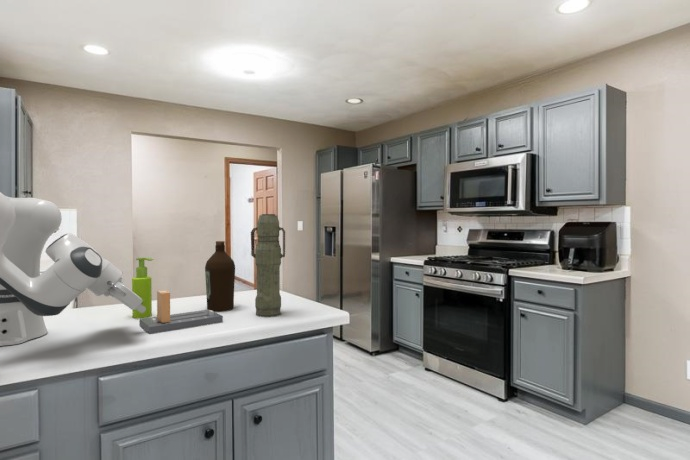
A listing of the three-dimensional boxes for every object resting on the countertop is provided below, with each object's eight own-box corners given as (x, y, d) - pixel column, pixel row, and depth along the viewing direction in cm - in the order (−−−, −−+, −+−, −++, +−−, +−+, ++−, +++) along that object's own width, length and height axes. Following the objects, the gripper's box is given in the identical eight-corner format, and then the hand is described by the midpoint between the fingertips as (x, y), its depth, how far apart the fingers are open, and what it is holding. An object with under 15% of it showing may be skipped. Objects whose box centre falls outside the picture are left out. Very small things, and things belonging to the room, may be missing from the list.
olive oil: (234, 305, 160) (233, 240, 159) (236, 311, 150) (236, 241, 149) (205, 306, 156) (204, 240, 156) (205, 313, 146) (205, 242, 146)
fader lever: (161, 322, 124) (161, 293, 123) (157, 319, 128) (156, 290, 127) (170, 321, 125) (170, 292, 125) (165, 318, 129) (165, 289, 129)
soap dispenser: (146, 318, 138) (146, 258, 137) (128, 317, 139) (127, 258, 139) (158, 314, 144) (157, 257, 143) (140, 313, 145) (139, 256, 144)
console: (149, 333, 120) (149, 321, 120) (139, 325, 130) (139, 313, 129) (222, 322, 134) (222, 310, 134) (208, 315, 143) (208, 304, 143)
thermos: (251, 311, 149) (251, 214, 148) (285, 310, 151) (285, 214, 150) (249, 317, 140) (249, 214, 139) (285, 316, 142) (285, 214, 141)
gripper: (122, 275, 109) (161, 307, 116) (107, 268, 125) (142, 297, 132) (102, 293, 107) (144, 326, 113) (90, 284, 122) (127, 313, 129)
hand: (143, 310), depth 122 cm, fingers closed
